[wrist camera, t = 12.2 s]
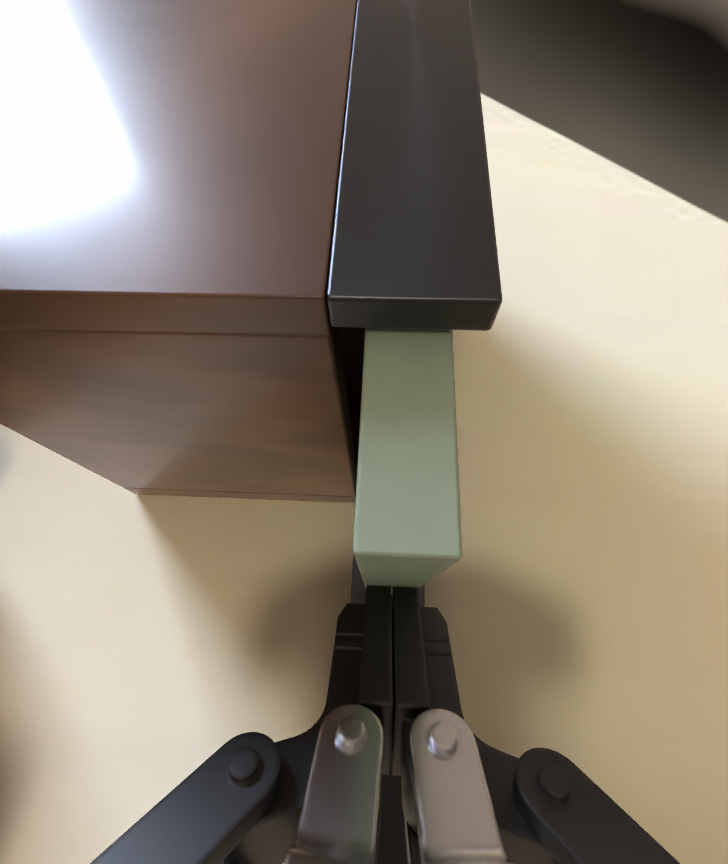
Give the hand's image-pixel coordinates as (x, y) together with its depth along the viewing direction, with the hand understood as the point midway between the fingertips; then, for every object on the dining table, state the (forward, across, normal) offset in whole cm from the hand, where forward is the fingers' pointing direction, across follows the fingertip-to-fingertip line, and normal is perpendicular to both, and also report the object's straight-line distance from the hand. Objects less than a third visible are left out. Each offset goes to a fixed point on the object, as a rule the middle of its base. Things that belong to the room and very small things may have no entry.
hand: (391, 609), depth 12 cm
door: (+8, 0, +3) cm, 9 cm away
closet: (+12, -6, +5) cm, 15 cm away
